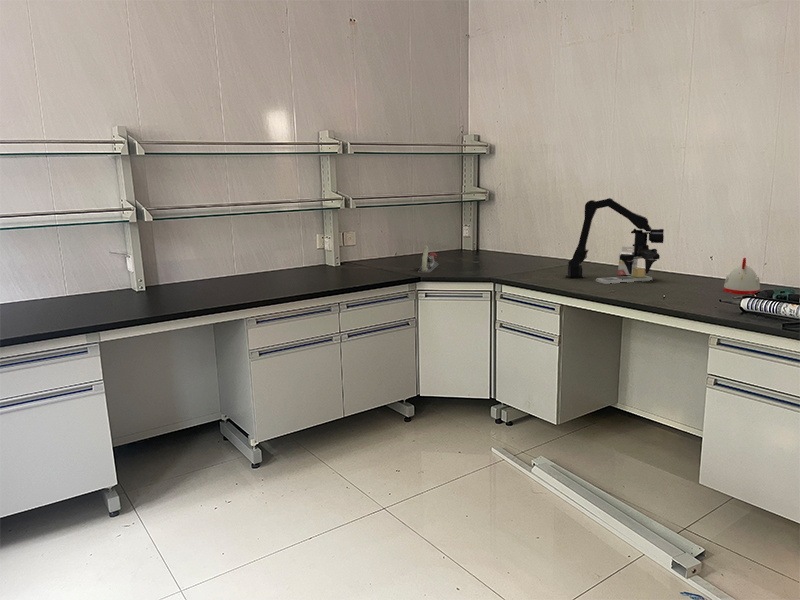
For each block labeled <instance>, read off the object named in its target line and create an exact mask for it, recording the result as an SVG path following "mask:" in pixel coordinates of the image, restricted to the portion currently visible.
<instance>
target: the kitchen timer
mask: <svg viewBox="0 0 800 600" xmlns="http://www.w3.org/2000/svg"><path fill="white" fill-rule="evenodd" d="M758 291H761V280H760V277H759V276H757V274H756V272H755V270H754V269H752V268H751V267H750V266H748V265H747V258H746V257H743V259H742V264H741V265H739V266H736V267H734V269H732V270H731V271H730V273H729V274H728V275H726V277H725V279H724V285H723V292H725V293H728V292H729V294H733V295H734V294H735V295H746V294H751V295H755V294H754V293H756V292H758Z"/></svg>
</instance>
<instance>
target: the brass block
mask: <svg viewBox="0 0 800 600" xmlns="http://www.w3.org/2000/svg"><path fill="white" fill-rule="evenodd" d="M645 276H646V271H645V268H644V267H637V268H633V276H632V277H635V278H644V277H645Z"/></svg>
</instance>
